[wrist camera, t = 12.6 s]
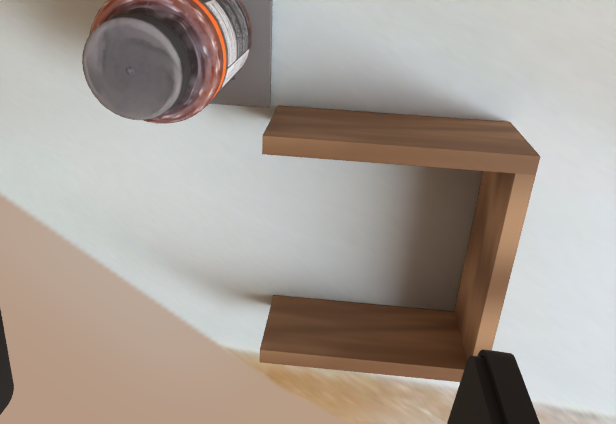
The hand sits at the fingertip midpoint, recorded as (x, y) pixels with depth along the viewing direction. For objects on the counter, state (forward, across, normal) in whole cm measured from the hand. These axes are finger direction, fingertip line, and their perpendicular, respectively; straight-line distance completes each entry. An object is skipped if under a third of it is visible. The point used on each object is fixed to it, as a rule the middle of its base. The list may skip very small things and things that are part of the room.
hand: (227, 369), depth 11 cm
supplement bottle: (+24, +7, -2) cm, 25 cm away
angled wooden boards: (+24, -5, +8) cm, 26 cm away
